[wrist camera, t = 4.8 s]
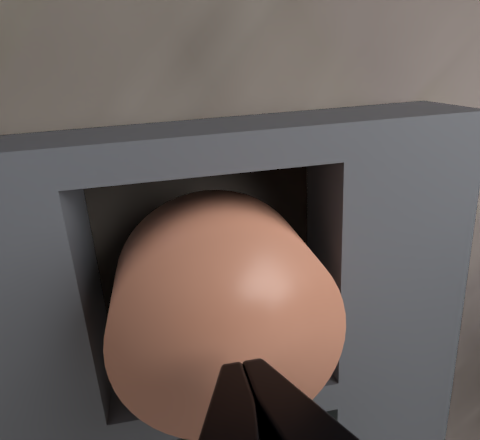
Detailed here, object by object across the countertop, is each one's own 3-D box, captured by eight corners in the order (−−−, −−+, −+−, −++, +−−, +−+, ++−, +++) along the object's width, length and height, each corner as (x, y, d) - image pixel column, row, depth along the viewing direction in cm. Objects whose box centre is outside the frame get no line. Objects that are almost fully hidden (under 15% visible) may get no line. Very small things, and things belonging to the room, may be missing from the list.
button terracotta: (303, 179, 13) (349, 216, 10) (304, 345, 14) (343, 418, 11) (100, 201, 12) (81, 248, 9) (130, 374, 14) (123, 460, 11)
